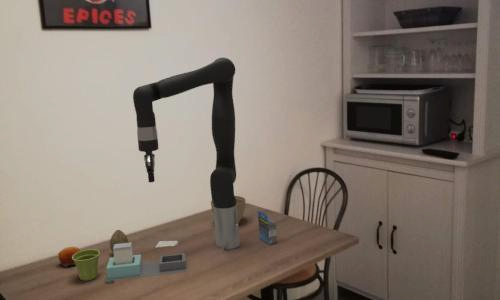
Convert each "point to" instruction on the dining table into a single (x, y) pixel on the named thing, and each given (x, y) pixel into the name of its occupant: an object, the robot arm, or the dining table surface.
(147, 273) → the panel
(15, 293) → the dining table surface
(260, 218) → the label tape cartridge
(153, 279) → the dining table surface
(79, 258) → the plant pot
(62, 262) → the fruit
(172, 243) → the external hard drive
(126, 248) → the plug
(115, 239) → the decorative egg
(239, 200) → the planter bowl
